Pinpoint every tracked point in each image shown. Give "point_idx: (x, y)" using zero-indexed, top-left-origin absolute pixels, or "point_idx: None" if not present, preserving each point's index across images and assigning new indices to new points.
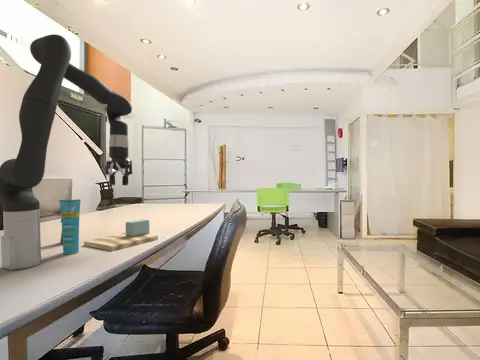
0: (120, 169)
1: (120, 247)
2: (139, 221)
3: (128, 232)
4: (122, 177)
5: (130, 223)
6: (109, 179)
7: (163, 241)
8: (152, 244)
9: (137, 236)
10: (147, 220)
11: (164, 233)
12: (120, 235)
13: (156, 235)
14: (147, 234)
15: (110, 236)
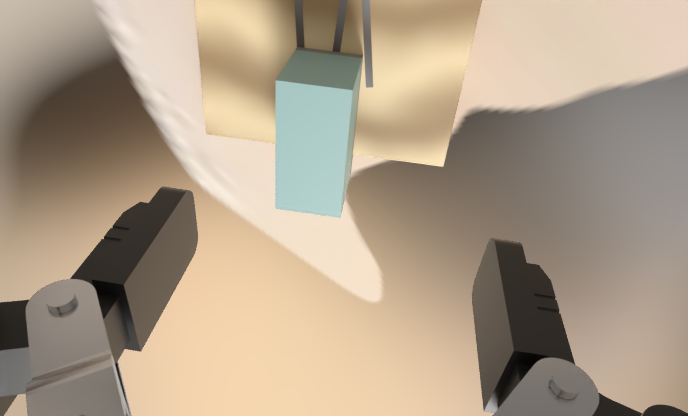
0: (53, 394)
1: None
2: (283, 144)
3: (333, 61)
4: (130, 265)
5: (299, 80)
6: (560, 320)
7: (148, 96)
8: (134, 16)
9: None
10: (276, 196)
11: (297, 242)
12: (415, 61)
13: (214, 134)
14: None
15: (458, 9)
